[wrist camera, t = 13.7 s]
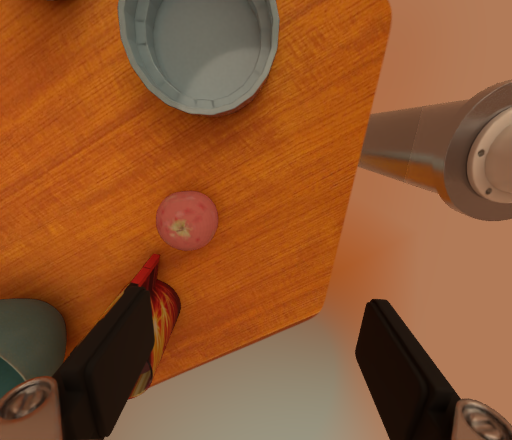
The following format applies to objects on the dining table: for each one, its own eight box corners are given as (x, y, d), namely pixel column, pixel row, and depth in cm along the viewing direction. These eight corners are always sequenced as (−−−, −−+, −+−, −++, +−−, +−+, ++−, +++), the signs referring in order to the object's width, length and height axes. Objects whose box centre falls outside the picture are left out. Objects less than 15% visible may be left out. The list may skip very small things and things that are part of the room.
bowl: (279, -34, 27) (285, -70, 22) (269, 120, 32) (272, 118, 27) (133, -46, 26) (107, -85, 21) (146, 113, 31) (127, 110, 26)
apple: (168, 232, 36) (146, 258, 29) (168, 182, 34) (144, 196, 26) (219, 237, 37) (211, 264, 29) (223, 188, 34) (215, 204, 27)
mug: (161, 248, 37) (122, 299, 26) (188, 322, 42) (164, 393, 30) (99, 260, 38) (34, 315, 26) (132, 332, 42) (88, 405, 31)
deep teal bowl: (-13, 354, 43) (-109, 434, 32) (-31, 262, 38) (-157, 320, 26) (95, 368, 45) (41, 450, 33) (94, 282, 39) (28, 345, 27)
